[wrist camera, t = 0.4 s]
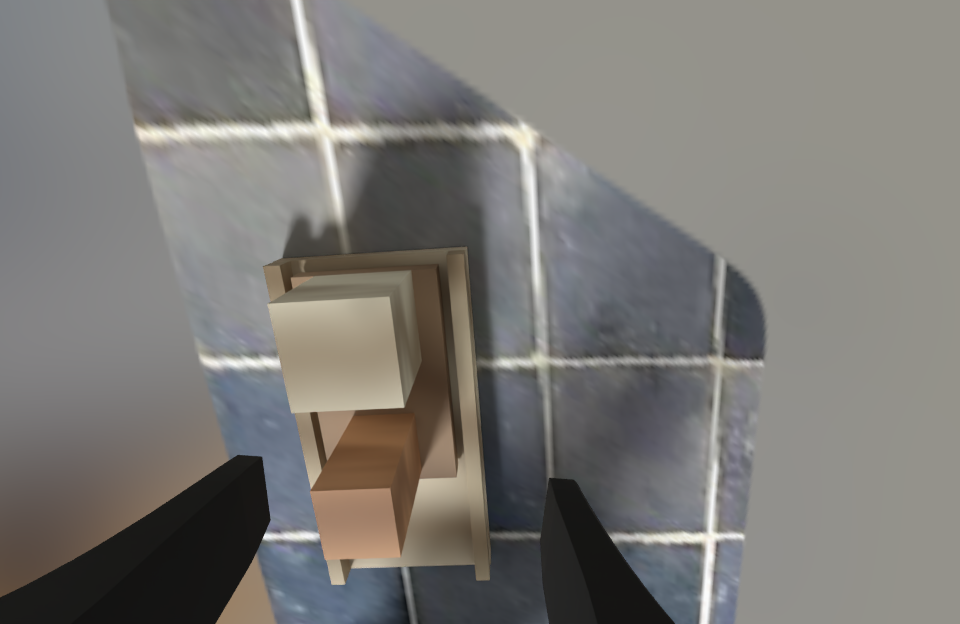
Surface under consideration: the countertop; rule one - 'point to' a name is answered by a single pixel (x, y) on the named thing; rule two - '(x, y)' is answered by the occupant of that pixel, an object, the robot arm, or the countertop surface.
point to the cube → (348, 341)
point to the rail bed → (462, 500)
